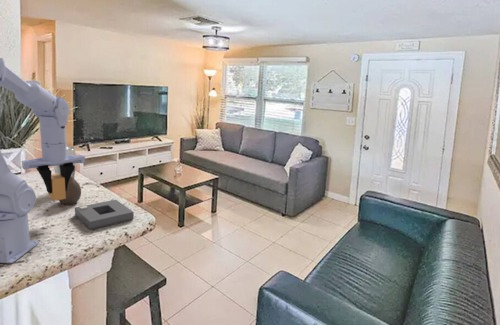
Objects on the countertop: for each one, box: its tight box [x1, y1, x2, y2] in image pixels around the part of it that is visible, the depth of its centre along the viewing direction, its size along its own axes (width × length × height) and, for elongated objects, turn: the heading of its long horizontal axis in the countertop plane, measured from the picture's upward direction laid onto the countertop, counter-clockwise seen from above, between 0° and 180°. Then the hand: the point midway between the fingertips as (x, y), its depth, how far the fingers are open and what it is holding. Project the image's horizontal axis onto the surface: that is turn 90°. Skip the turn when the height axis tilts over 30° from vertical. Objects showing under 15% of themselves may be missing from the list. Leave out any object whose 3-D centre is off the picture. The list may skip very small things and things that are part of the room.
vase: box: [58, 176, 82, 206], centre depth 103 cm, size 7×7×9 cm
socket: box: [74, 199, 135, 231], centre depth 95 cm, size 12×12×3 cm
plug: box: [47, 173, 66, 202], centre depth 90 cm, size 4×3×6 cm, turn 46°
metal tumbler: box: [53, 145, 77, 179], centre depth 113 cm, size 7×7×15 cm
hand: (57, 191), depth 90 cm, fingers closed on plug, 3 cm apart
